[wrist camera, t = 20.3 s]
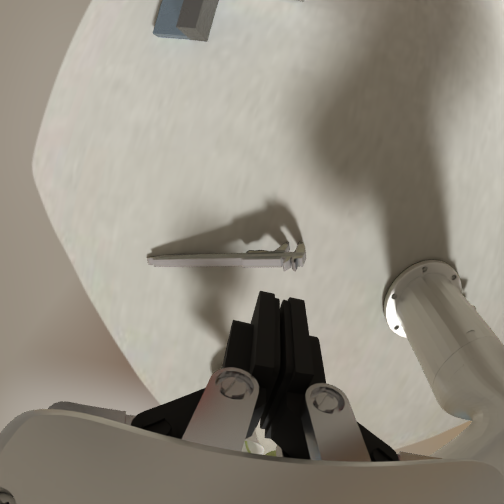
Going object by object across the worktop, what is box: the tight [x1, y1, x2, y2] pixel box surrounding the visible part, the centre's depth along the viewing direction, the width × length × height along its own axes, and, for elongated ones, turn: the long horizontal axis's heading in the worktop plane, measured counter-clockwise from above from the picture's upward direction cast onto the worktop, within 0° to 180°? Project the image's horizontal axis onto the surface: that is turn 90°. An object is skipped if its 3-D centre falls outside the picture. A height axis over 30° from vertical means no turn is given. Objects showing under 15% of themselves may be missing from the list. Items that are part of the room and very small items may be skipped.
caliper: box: [147, 241, 306, 271], centre depth 38 cm, size 20×1×6 cm, turn 98°
